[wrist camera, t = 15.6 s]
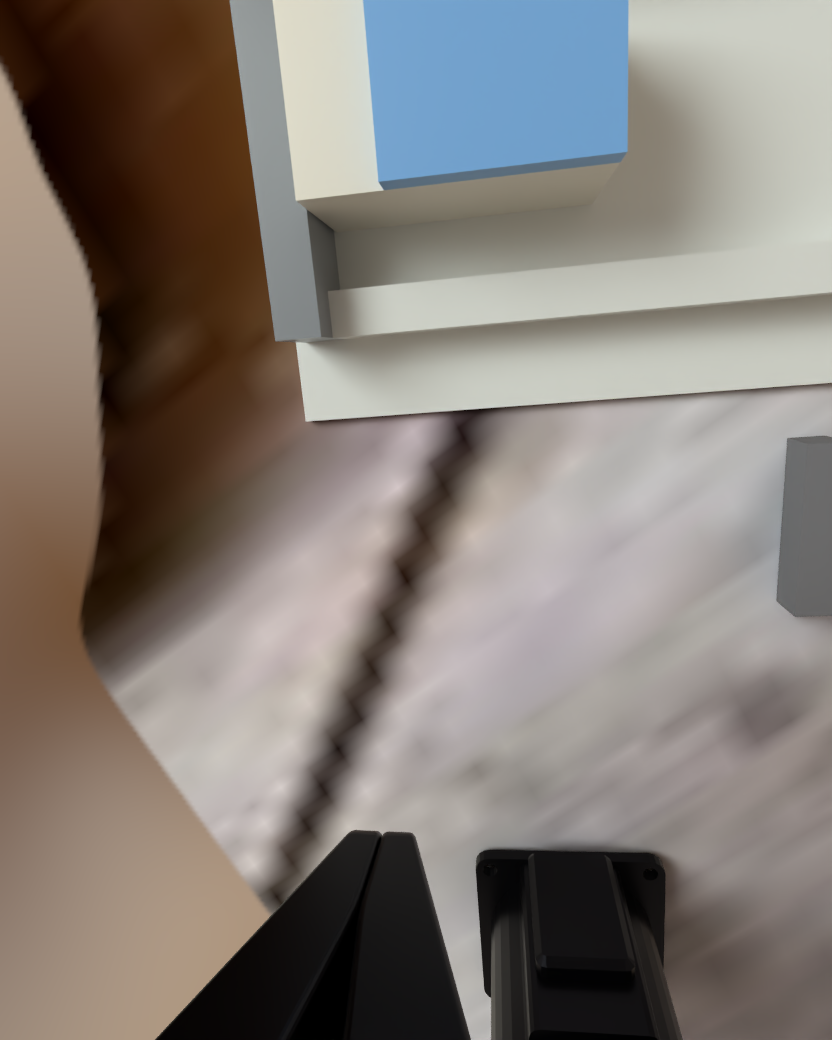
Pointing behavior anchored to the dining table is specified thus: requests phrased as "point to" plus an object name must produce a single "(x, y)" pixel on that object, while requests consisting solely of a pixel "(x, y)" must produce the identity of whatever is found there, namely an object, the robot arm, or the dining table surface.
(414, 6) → the plug
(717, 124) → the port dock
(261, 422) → the dining table surface
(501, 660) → the dining table surface
